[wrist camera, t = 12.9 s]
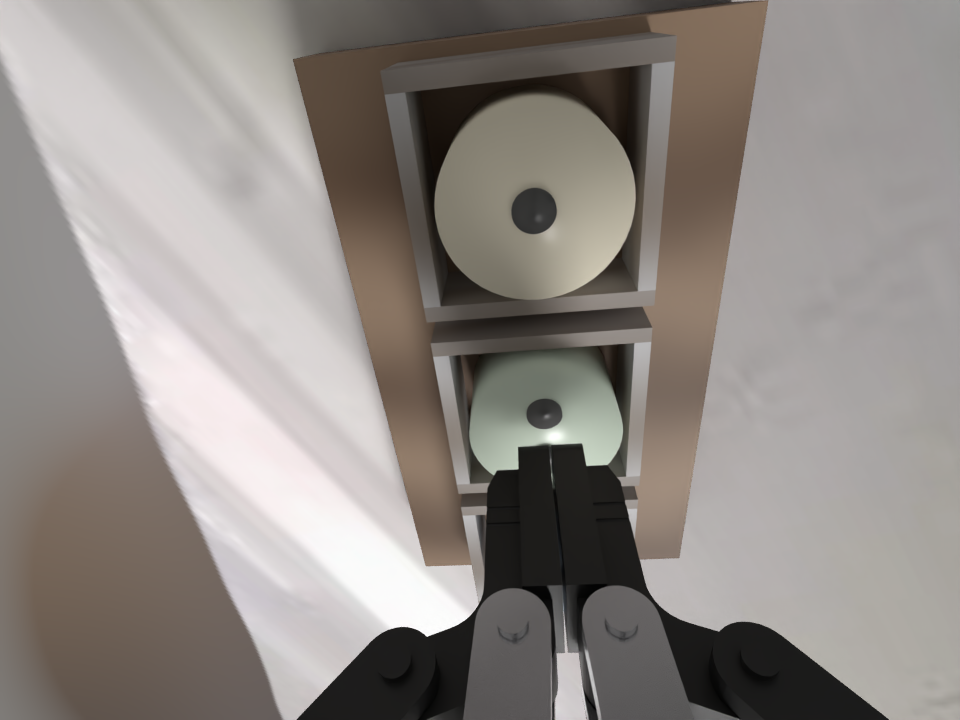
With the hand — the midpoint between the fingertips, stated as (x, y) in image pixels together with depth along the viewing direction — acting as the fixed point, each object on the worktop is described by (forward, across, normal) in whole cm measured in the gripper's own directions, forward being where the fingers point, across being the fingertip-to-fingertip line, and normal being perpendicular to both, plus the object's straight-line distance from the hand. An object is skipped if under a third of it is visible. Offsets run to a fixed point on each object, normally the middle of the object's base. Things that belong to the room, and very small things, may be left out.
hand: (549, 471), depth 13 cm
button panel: (+6, 0, 0) cm, 6 cm away
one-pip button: (+4, 0, -6) cm, 7 cm away
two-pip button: (+4, 0, 0) cm, 4 cm away
